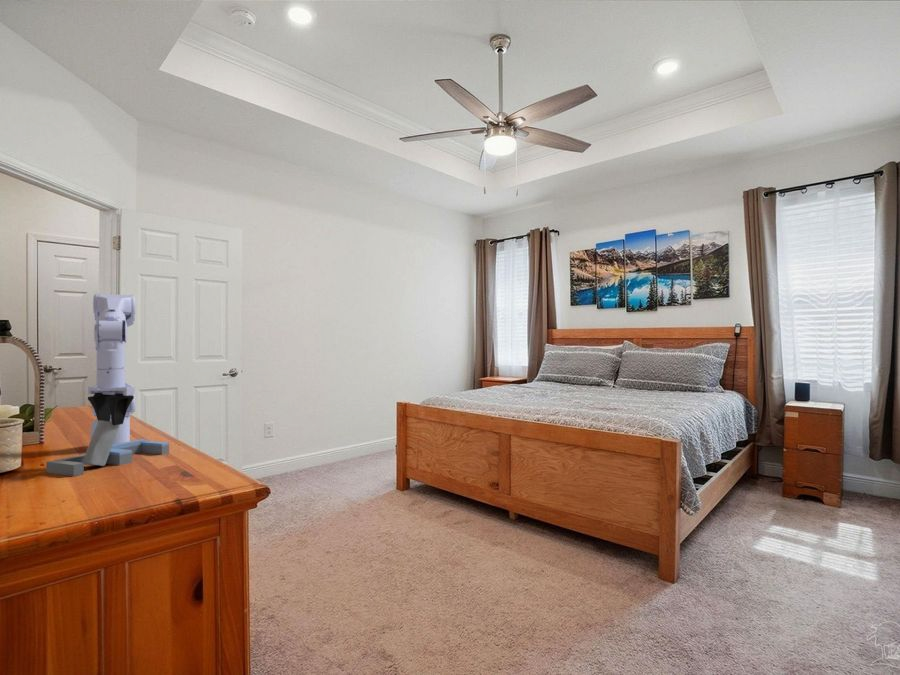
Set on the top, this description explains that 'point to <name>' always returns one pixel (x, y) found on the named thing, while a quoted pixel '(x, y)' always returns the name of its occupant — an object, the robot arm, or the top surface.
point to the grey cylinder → (101, 443)
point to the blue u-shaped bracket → (117, 447)
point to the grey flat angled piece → (76, 467)
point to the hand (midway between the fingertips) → (110, 424)
